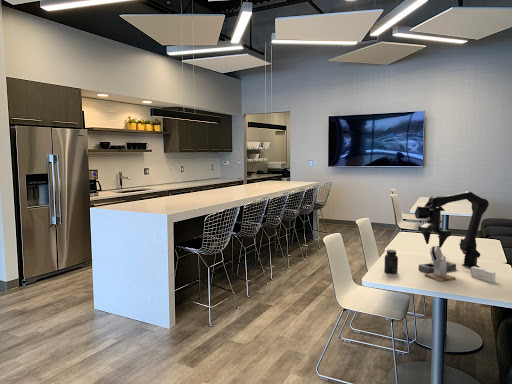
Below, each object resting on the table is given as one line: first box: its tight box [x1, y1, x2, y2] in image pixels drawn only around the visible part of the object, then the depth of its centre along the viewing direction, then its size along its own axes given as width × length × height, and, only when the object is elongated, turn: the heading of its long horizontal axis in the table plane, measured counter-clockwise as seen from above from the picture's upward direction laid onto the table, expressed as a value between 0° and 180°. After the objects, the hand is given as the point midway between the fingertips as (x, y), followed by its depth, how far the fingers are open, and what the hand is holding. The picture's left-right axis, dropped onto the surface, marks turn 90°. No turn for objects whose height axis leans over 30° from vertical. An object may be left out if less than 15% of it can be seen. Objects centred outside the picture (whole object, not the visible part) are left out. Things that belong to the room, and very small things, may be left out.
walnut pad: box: [424, 273, 456, 283], centre depth 197 cm, size 10×10×1 cm
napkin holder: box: [470, 267, 496, 284], centre depth 194 cm, size 15×11×6 cm
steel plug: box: [434, 259, 448, 277], centre depth 196 cm, size 4×4×8 cm
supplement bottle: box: [383, 249, 399, 275], centre depth 206 cm, size 7×7×12 cm
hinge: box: [429, 245, 447, 263], centre depth 229 cm, size 17×5×10 cm, turn 148°
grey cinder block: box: [418, 261, 457, 274], centre depth 211 cm, size 20×7×3 cm, turn 112°
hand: (433, 245), depth 216 cm, fingers open, 9 cm apart
